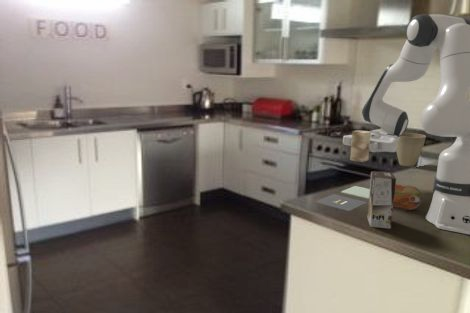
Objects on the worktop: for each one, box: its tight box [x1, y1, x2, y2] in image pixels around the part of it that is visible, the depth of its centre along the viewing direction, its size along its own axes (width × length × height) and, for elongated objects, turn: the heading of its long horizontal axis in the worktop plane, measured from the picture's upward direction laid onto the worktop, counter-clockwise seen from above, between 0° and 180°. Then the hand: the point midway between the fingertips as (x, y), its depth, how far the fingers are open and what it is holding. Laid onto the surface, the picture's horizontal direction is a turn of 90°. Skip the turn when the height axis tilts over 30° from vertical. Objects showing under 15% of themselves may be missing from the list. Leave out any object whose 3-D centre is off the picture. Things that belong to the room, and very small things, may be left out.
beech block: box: [349, 129, 371, 163], centre depth 155 cm, size 5×5×11 cm
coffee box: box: [366, 170, 397, 230], centre depth 130 cm, size 9×6×16 cm
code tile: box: [314, 193, 368, 212], centre depth 152 cm, size 14×14×1 cm
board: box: [340, 185, 370, 200], centre depth 163 cm, size 14×12×1 cm
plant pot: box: [396, 132, 427, 167], centre depth 214 cm, size 15×15×16 cm
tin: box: [393, 183, 423, 211], centre depth 147 cm, size 15×3×8 cm, turn 57°
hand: (360, 145), depth 155 cm, fingers closed on beech block, 5 cm apart
